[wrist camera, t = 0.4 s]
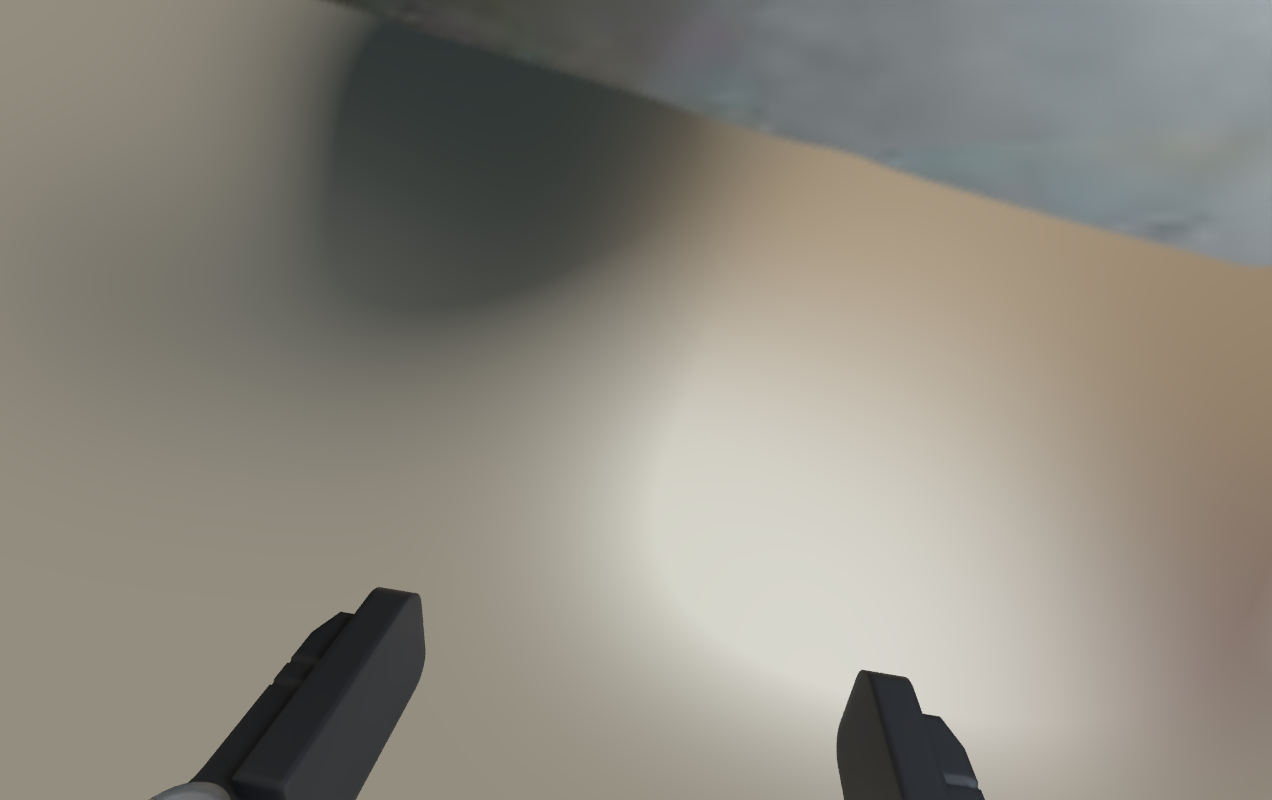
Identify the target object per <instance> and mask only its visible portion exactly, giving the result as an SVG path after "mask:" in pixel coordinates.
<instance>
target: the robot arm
mask: <svg viewBox="0 0 1272 800" xmlns="http://www.w3.org/2000/svg"><path fill="white" fill-rule="evenodd" d="M421 605H422V604H421V598H420V596H419V595H418V594H417V593H411V592H405V591H399V590H393V589H387V588H382V587H381V588H380V587H378V588H376V589H374V590H373V591H372V592H371V593H370V594H369V595H368V597H367V598H366V599H365V601H364V602H363V604H362V605H361V606H360V607H359V609H358V610H357V611H356V613H355V614H350V613H344V612H340V613H338V614H337V615H335V616H334V617H333V618H331V619H330V620H328V621H327V622H326V623H324V624H323V625H321V626H320V627H319V628H317V629H316V630H314V631H313V632H312V633H311V634H310V635H309V636H308V638H307V639H306V640H305V641H304V643H303V644H302V645H301V647H300V648H299V649H298V650H297V652H296V653H295V654H294V655H293V656H292V659H291V662H290V663H287V664H286V665H285V666H284V667H283V669H282V670H281V671H280V672H279V674H278V675H277V676H276V678H275V679H274V683H273V684H272V685H269V686H268V688H267V689H266V690H265V691H264V693H263V694H262V695H261V696H260V697H259V698H258V700H257V701H256V702H255V703H254V705H253V706H252V707H251V708H250V710H249V711H248V712H247V713H246V715H245V716H244V717H243V718H242V720H241V721H240V722H239V723H238V725H237V726H236V727H235V728H234V730H233V731H232V732H231V733H230V735H229V736H228V737H227V738H226V739H225V741H224V742H223V743H222V745H221V746H220V747H219V748H218V749H217V751H216V752H215V753H214V754H213V756H212V757H211V758H210V759H209V761H208V762H207V763H206V764H205V766H204V767H203V768H202V769H201V770H200V771H199V772H198V774H197V775H196V776H195V777H194V778H193V779H191V781H189V782H188V783H186V784H182V785H179V786H175V787H173V788H170V789H168V790H166V791H163V792H161V793H160V794H158V795H156V796H154V797H152V798H151V799H150V800H356V798H357V796H358V794H359V792H360V791H361V789H362V787H363V785H364V783H365V781H366V779H367V777H368V776H369V774H370V772H371V770H372V768H373V766H374V764H375V763H376V761H377V759H378V757H379V755H380V753H381V752H382V749H383V748H384V746H385V744H386V742H387V740H388V739H389V737H390V734H391V733H392V731H393V729H394V728H395V726H396V724H397V722H398V720H399V718H400V716H401V715H402V713H403V711H404V709H405V707H406V705H407V703H408V702H409V700H410V698H411V696H412V694H413V692H414V691H415V689H416V686H417V684H418V682H419V680H420V676H421V673H422V670H423V666H424V660H425V641H424V628H423V617H422V606H421ZM837 762H838V769H839V774H840V780H841V785H842V790H843V795H844V800H985V799H984V797H983V794H982V791H981V790H979V789H978V781H977V779H976V776H975V774H974V771H973V769H972V766H971V764H970V761H969V759H968V756H967V754H966V751H965V749H964V747H963V746H962V745H961V743H960V742H959V741H958V739H957V738H956V737H955V736H954V734H953V733H952V732H951V730H950V729H949V728H948V726H947V725H946V724H945V723H944V721H943V720H942V719H941V718H940V717H938V716H932V715H926V714H922V711H921V708H920V705H919V703H918V700H917V697H916V694H915V691H914V689H913V686H912V684H911V682H910V681H909V679H908V678H906V677H901V676H896V675H889V674H883V673H878V672H872V671H866V670H861V671H860V672H859V673H858V675H857V678H856V680H855V683H854V686H853V689H852V691H851V694H850V697H849V700H848V702H847V705H846V708H845V711H844V713H843V717H842V719H841V722H840V725H839V729H838V735H837Z"/></svg>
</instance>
